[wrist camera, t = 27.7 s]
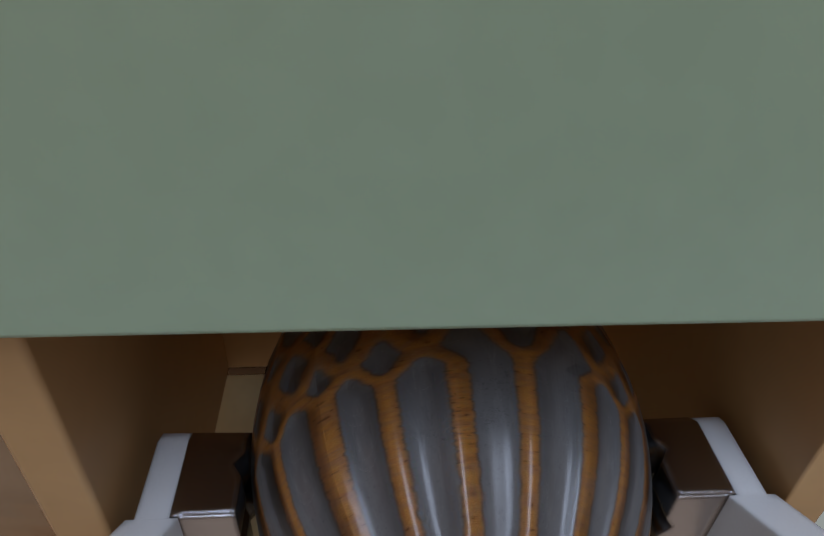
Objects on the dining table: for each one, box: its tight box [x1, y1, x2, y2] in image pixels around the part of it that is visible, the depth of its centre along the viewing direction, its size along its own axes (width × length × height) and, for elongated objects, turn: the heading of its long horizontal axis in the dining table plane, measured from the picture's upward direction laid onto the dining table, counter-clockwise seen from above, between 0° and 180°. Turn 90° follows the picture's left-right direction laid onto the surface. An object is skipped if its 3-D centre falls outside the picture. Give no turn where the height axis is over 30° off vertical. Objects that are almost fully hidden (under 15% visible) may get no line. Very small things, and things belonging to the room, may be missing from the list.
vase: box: [251, 326, 652, 536], centre depth 11 cm, size 7×7×9 cm
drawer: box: [0, 321, 824, 536], centre depth 15 cm, size 19×14×9 cm
